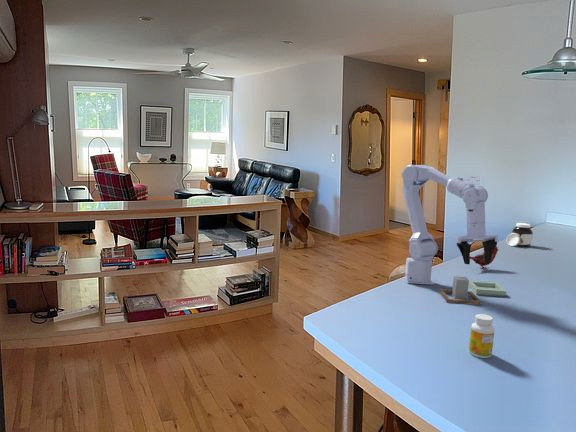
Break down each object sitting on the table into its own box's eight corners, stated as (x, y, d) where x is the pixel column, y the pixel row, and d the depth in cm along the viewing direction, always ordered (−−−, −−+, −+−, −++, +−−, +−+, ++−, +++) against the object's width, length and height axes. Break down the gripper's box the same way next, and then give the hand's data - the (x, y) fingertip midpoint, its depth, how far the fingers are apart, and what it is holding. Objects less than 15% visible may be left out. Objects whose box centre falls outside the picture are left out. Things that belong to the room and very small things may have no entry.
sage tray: (476, 294, 166) (476, 289, 165) (468, 286, 176) (468, 280, 175) (505, 296, 165) (506, 291, 165) (496, 288, 175) (496, 282, 174)
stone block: (454, 299, 160) (456, 279, 159) (451, 295, 164) (453, 276, 163) (466, 300, 159) (469, 280, 158) (463, 296, 163) (465, 277, 162)
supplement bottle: (464, 348, 121) (468, 312, 120) (484, 349, 122) (489, 312, 120) (474, 358, 116) (478, 320, 114) (495, 358, 116) (500, 321, 115)
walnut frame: (446, 302, 157) (446, 299, 156) (439, 291, 167) (439, 289, 167) (480, 304, 156) (481, 301, 155) (471, 294, 166) (471, 291, 166)
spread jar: (532, 245, 254) (534, 224, 252) (529, 249, 244) (532, 227, 243) (507, 242, 260) (510, 221, 258) (504, 245, 251) (507, 224, 249)
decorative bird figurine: (499, 269, 202) (501, 246, 201) (466, 271, 196) (468, 248, 194) (493, 267, 205) (496, 244, 203) (461, 269, 198) (463, 246, 197)
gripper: (462, 224, 153) (464, 266, 154) (503, 222, 156) (504, 263, 157) (451, 223, 160) (452, 263, 161) (490, 221, 163) (491, 260, 164)
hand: (477, 263), depth 159 cm, fingers open, 7 cm apart
